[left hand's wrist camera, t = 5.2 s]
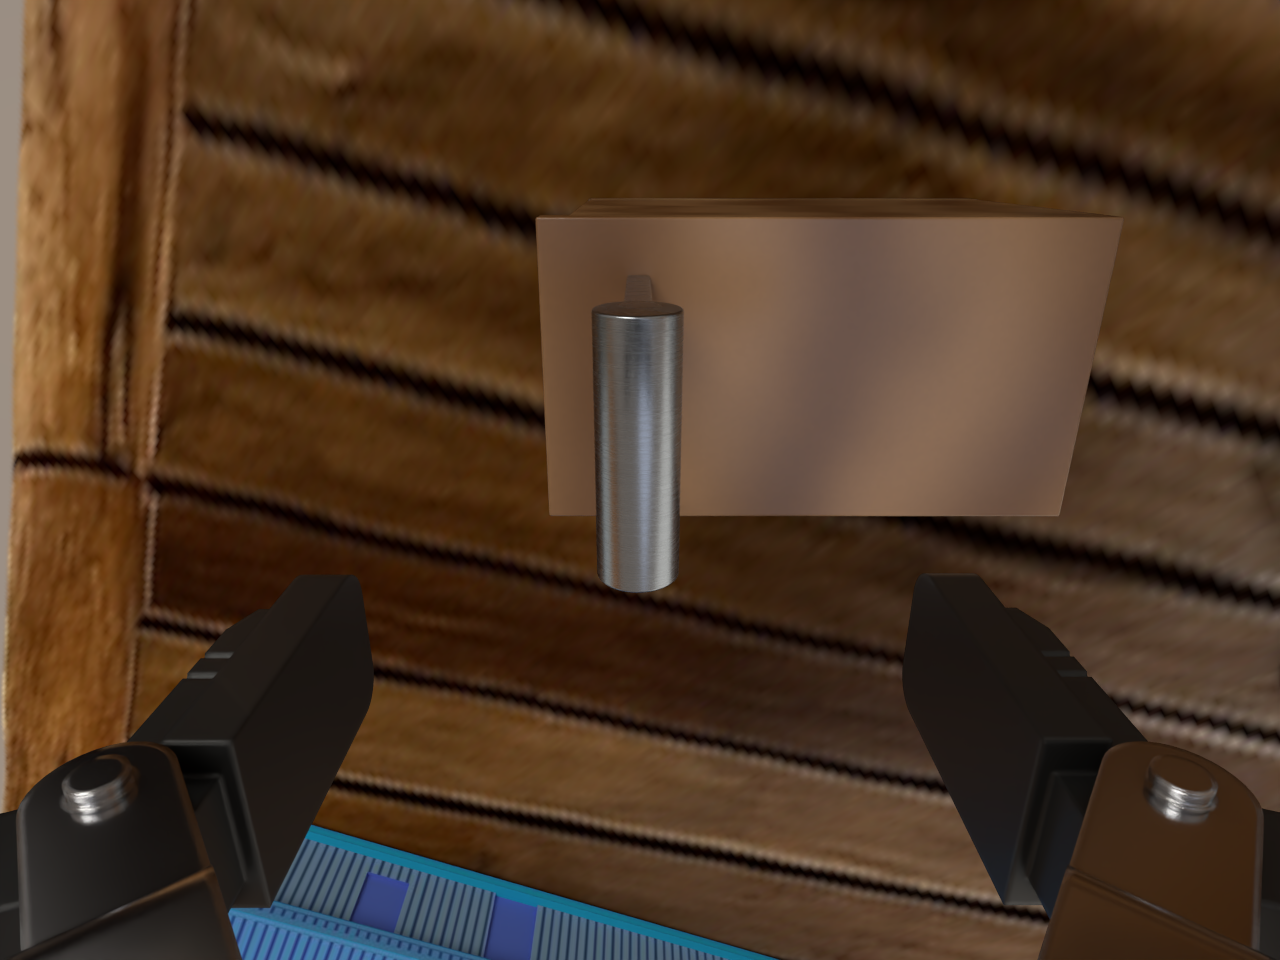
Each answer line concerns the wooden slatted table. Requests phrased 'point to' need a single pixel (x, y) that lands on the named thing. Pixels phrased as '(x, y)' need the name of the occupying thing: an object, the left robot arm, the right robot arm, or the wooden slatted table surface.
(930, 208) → the chest
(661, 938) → the model building
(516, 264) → the wooden slatted table surface
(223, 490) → the wooden slatted table surface
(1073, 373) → the lid
